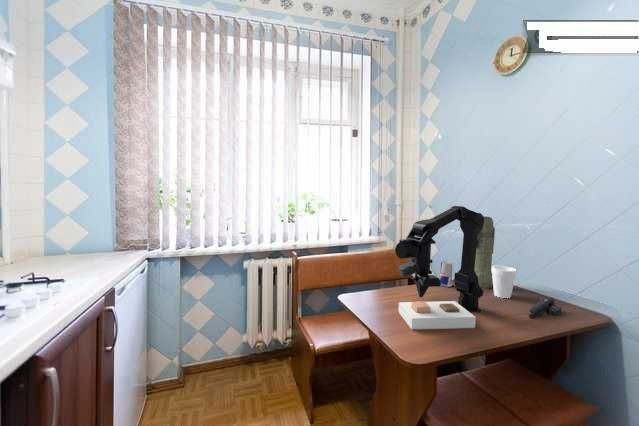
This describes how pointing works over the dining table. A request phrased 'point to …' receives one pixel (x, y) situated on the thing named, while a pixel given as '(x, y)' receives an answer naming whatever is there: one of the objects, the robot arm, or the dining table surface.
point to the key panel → (436, 316)
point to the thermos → (485, 253)
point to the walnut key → (449, 308)
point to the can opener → (544, 308)
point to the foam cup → (503, 280)
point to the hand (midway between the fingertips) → (420, 297)
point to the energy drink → (446, 274)
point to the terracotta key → (421, 307)
